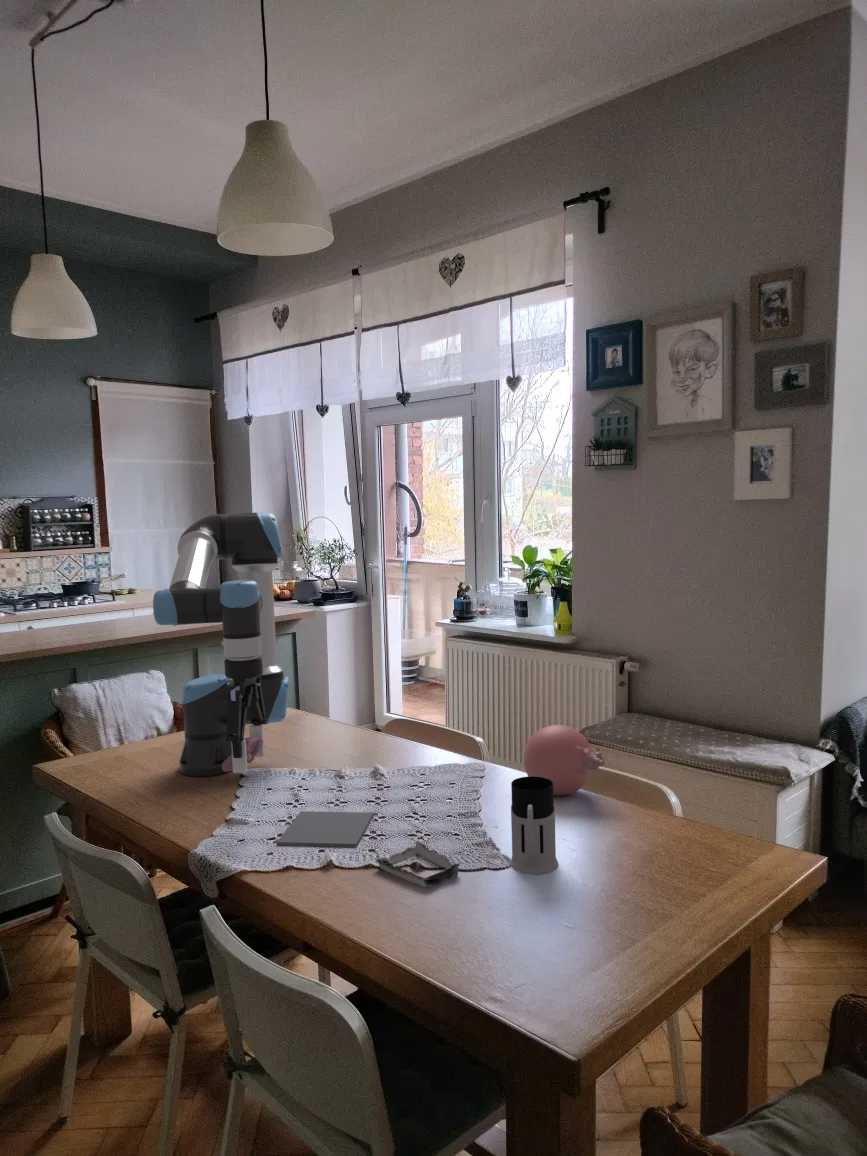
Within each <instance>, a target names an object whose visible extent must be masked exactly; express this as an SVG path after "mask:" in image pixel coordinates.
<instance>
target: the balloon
mask: <svg viewBox="0 0 867 1156" xmlns="http://www.w3.org/2000/svg"><path fill="white" fill-rule="evenodd" d="M525 745H526V746H525V748H524V751H523V752H524V753H523V766H524V770H525V772H526V775H527V777H529V776H534V777H543V778H547V779H549V780H551V781H552V782H553V796H567V795H570V794H573V793H576V792H578V791H579V790H581V789H582V788H583V787H584V786H585V785H586V784H587V783H588V781H589V779H590V777H591V775H592V772H593V771H597V770H598V769H599V767H604V766H605V759H604V757H603V754H602V752H600V751H595V752H594V750H593V749H592V747H591V745H590V743H589V741H588V740H587V738H586V737H585V736H584V735H583V734H582V733H581V732H580V731H578V730H576V729H575V728H573V727H571V726H568V725H564V724H552V725H547V726H544V727H542V728H540V729H539V730H537V731H536V732H535V733H533V735H531V737H530V738H529V740H528V742H527V743H526V744H525Z"/></svg>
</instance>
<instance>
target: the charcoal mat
mask: <svg viewBox="0 0 867 1156" xmlns="http://www.w3.org/2000/svg"><path fill="white" fill-rule="evenodd" d="M374 815H375V813H374V812H369V811H368V812H367V811H363V812H357V811H356V812H355V811H313V810H312V811H306V810H301V811H300V812H299V813H298V814H297V815H296V816H295V818H294V819H293V820H292V822H291V823H290V824H289V826H288V827H287V828H286V829H285V831H284V832H282V833H283V834H281V835H280V837H279V839H278V840H277V841H276V846H300V847H301V846H304V847H305V846H306V847H308V846H309V847H310V846H311V847H339V848H340V847H342V848H343V847H344V848H345V847H347V848H349V847H350V848H357V847H358V845H359V844H360V842H361V840H362V838H363V836H364V834H365V832H366V830H367V829H368V827H369V825H370V823H371V821H372V819H373V817H375V816H374Z"/></svg>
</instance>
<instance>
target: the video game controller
mask: <svg viewBox="0 0 867 1156" xmlns="http://www.w3.org/2000/svg"><path fill="white" fill-rule="evenodd" d="M243 740H246V756H247V764H251V763H252V762H253V761H254V760H255V757H256V756H255V755H256V754H257V753H258V751H259V750H260V748H261V746H262V744H263V740H264V739H263V740H262V739H260V738H259V737H254V736H252V737H250V736H248V737H244V739H243ZM222 770H223V771H225V772H226V773H229V771H230V772H233V764H232V755H231V756H230V757H228V758H227V759H226V760H225V761H224V762H223V764H222Z"/></svg>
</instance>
